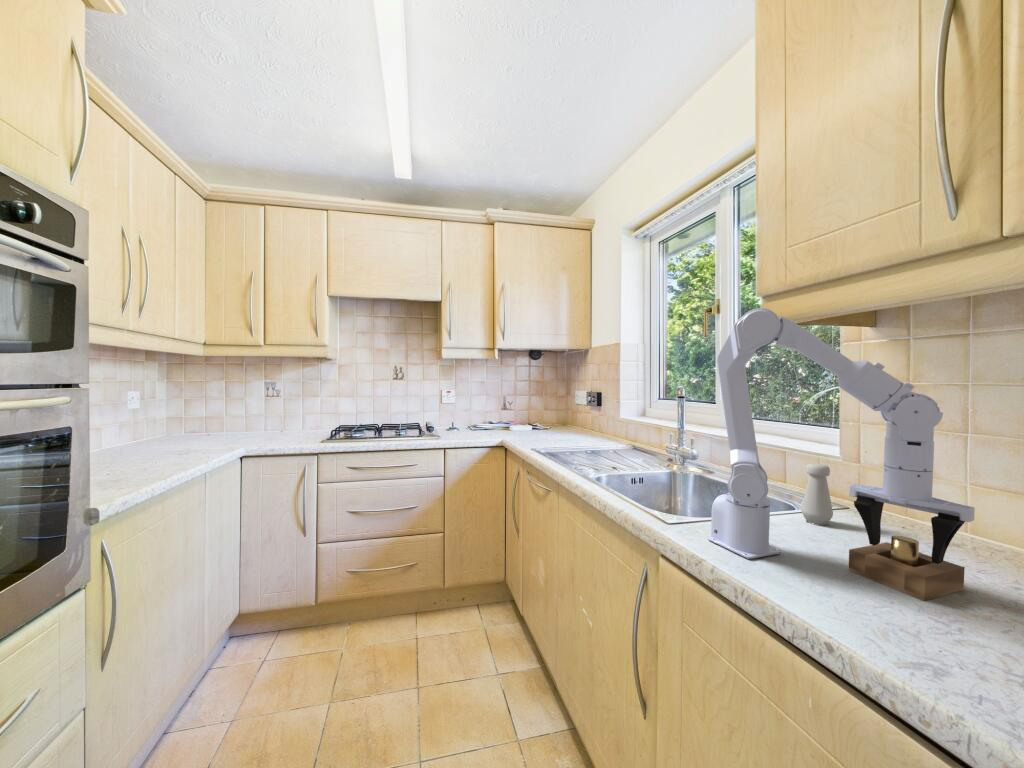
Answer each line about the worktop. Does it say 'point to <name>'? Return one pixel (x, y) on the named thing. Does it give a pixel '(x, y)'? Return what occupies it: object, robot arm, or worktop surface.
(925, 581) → the hole block
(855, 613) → the worktop surface
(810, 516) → the salt shaker
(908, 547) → the bronze pin
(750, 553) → the robot arm
